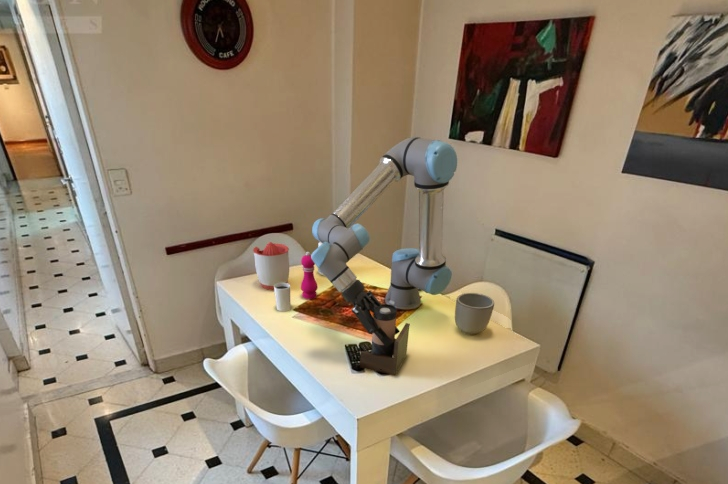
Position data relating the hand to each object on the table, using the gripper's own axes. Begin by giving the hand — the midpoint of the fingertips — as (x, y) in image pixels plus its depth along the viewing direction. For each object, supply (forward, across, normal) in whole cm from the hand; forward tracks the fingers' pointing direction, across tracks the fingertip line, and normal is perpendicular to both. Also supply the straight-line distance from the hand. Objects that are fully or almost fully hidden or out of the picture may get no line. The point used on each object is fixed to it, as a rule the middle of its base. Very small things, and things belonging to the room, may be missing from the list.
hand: (393, 339), depth 154 cm
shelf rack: (+4, 0, -9) cm, 10 cm away
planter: (+22, -34, +8) cm, 41 cm away
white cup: (-32, -24, -45) cm, 60 cm away
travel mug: (+4, 0, -9) cm, 10 cm away
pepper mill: (-28, -39, -42) cm, 64 cm away
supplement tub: (-30, -67, -44) cm, 86 cm away
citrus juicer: (-43, -44, -57) cm, 84 cm away
